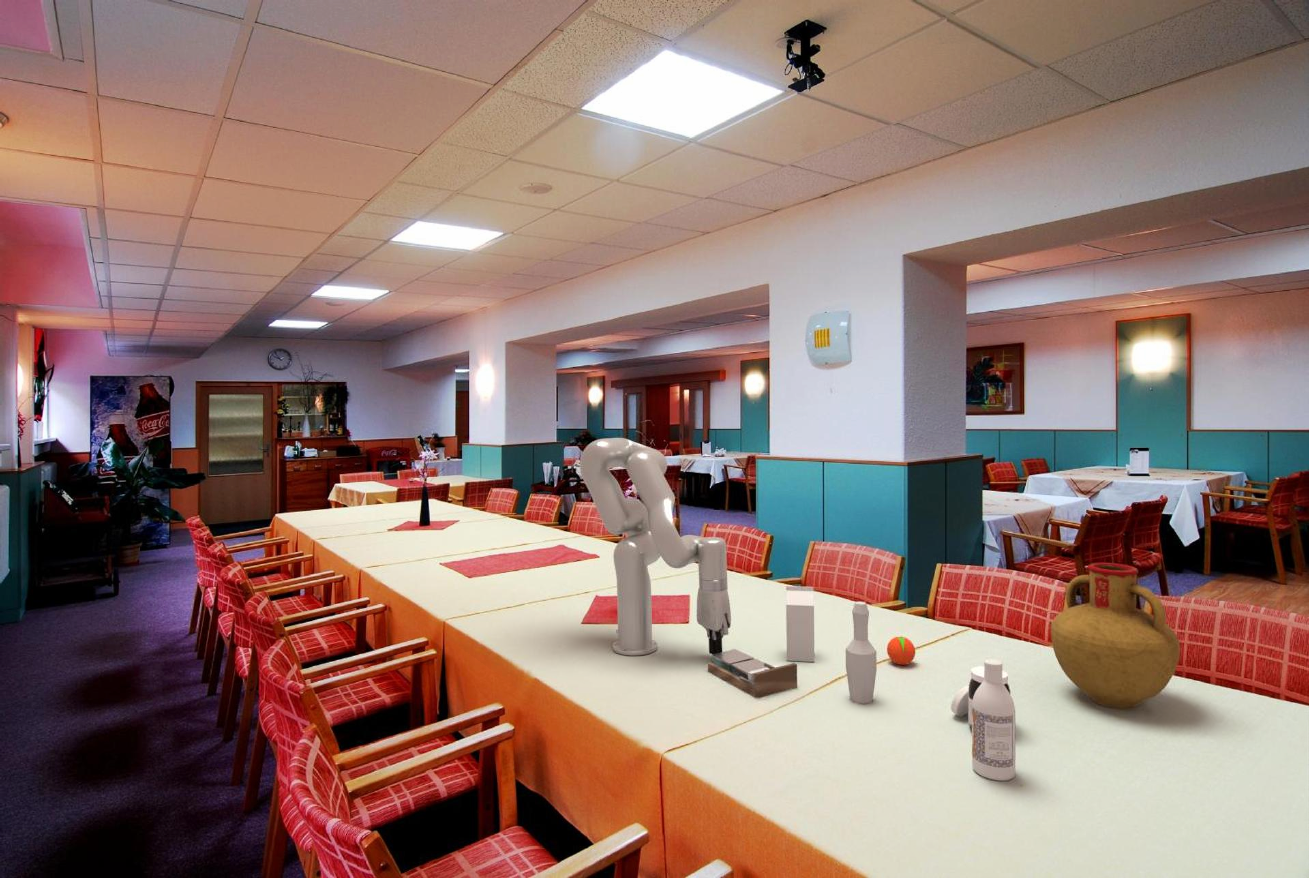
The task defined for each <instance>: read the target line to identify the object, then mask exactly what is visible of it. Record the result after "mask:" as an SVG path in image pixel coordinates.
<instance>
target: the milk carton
mask: <svg viewBox="0 0 1309 878" xmlns="http://www.w3.org/2000/svg"><path fill="white" fill-rule="evenodd" d="M785 588H786V589H785V593H786V596H785V598H786V599H785V617H786V618H785V619H786V623H785V625H786V627H785V628H786V631H785V632H786V661H791V662H809V663H810V662H811V663H812V662H813V663H814V662H815V661H816V660H815V599H814V598H815V595H814V593H815V592H814V587H813V586H799V585H798V586H796V585H794V586H791V585H788V586H787V585H786V586H785Z"/></svg>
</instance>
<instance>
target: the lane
mask: <svg viewBox="0 0 1309 878" xmlns="http://www.w3.org/2000/svg"><path fill="white" fill-rule="evenodd" d="M754 659H755V658H754ZM754 659H753V660H754ZM764 663H765V664H764V666H765V667H767V668H769V669H768V670H764V671H760V672H756V673H754V683H753V682H751V681H749V680H747V679H745V678H743V677H738V676H736V675H734V674H732V673H730V672H728V671H726V670H724V669H722V668H721V667H719V666H717V665H715V664H713V663H712V662H707V671H708V672H709V673H711V674H713V675H714V676H716V677H719V678H720V679H721V680H724V681H726V682H727V683H729V684H731V685H732V686H734V687H736V688H738V689H739V690H740V691H741V690H742V691H744V692H745V693H747V694H749V695H751V696H752V697H754V698H755V699H756V698H757V699H759V698H762V697H767V696H770V695H774V694H777V693H778V694H779V693H781V692H785V691H788V690H792V689H795V688H798V664H797V663H795V662H793V663H789V664H785V665H781V666H780V667H776V668H775V667H773V666H774V665H771V664H768V663H766V662H764Z"/></svg>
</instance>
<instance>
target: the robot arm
mask: <svg viewBox="0 0 1309 878" xmlns="http://www.w3.org/2000/svg"><path fill="white" fill-rule="evenodd" d="M619 467H620V468H623V469H625V470H626V471H627V474H628V476H629V478H630V481H631V482H632V484H633V485H634V488H635V490H636V491H637V494H638V496H639V497H640V499H641V500H639V499H637V498H635V497H625V494H624V492H623V491H622V488H621V486H620V483H619V482H618V480H617V479H616V477H615V476H614V475H613V474H612V473H611V470H610V469H612V468H619ZM579 469H580V474H581V477H582V479H583V482H584V484H585V486H586V488H587V489H588V492H589V494H590V496H591V498H592V501H593V503H594V505H595V508H596V510H597V513H598V515H599V517H600V519H601V522H602V524H603V526H604V528H605V529H606V531H607V532H608V533H610V534H612V535H623V534H625V535H626V537H624V538H623V539H620V541H619V542H618V543H617V544H616V545H615V548H614V550H613V557H612V558H613V564H614V570H615V575H616V595H617V599H616V600H617V605H616V606H617V629H616V631H615V633H616V634H617V640H616V641H615V642H614V643H613V644H612V650H613V651H614V652H615V653H617V654H619V655H623V656H624V655H625V656H644V655H648V654H651V653H654V652H655V651H657V650H658V647H659V646H658V642H657V641H656V640H654V639H653V623H652V621H653V620H652V583H651V576H650V574H649V569H648V566H650V565H653V564H654V563H656V562H657V561H658V560H659V559H660V558H662V560H663V561H664V562H665V564H667V566H669V567H670V568H673V569H682V568H684V567H687V566H688V565H691V564H693V563H696V562H697V566H698V568H697V569H698V590H697V597H696V598H697V599H696V623H697V624H698V625H700V626H701V627H702V628H704V629H705V631H706V635H707V637H706V638H708V653H709V654H711V655H713V654H717V653H721V652H723V638H724V636H728V635H729V629H730V628H731V625H732V615H731V614H732V613H731V603H730V596H729V592H728V591H729V589H728V588H729V587H728V586H729V585H728V563H727V562H728V561H727V543H726V540H725V539H724V538H723V537H720V536H719V537H717V536H707V537H706V536H705V537H704V536H700V535H695V534H685V535H682V536H680V534H679V531H678V530H677V527H676V526H675V522H674V519H673V510H674V505H675V501H676V500H675V499H676V496H675V493H674V492H673V490H672V489H671V486H670V485H669V483H668V481H667V479H666V477H665V474H666V472H667V469H668V462H667V458H666V457H665V455H664V454H663V453H662V452H661V451H659V450H658V449H655V448H652V447H650V446H646V445H645V444H642V443H638V442H635V441H633V440H630V439H628V438H624V437H612V438H611V437H610V438H607V437H606V438H599V439H596V440H594V441H592V442H590V443H589V444H587V446H586V447H585V448H584V449H583V451H582V454H581V456H580V461H579Z"/></svg>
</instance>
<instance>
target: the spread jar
mask: <svg viewBox="0 0 1309 878" xmlns="http://www.w3.org/2000/svg"><path fill="white" fill-rule="evenodd" d="M983 681H984V665H983V666H981V665H980V666H979V665H978V666H975V667H974V666H973V667H971V669H970V680H969V683H968V684H967V685H965V686H963V687H961V688H960V689H959V690H958V692H957V693H956V694H955V695H954V697H953V700H952V701H951V702H952V703H951V705H950V710H951V711H952V713H954V714H955V715H956V716H958V717H963V716H964V715H966V714H967V713H968V717H967V718H968V725H969V727H970V728H971V729H972V701H973V697H974V694H975V692H976V690H977V689H978V687H979V686H980V685H981V684H982V682H983ZM1002 683H1003V684H1004V686H1005V687H1006V689H1007V690H1008V692H1009V693H1010V694H1011V688H1010V685H1009V674H1008V672H1006V671H1005V670H1003V669H1002Z"/></svg>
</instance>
